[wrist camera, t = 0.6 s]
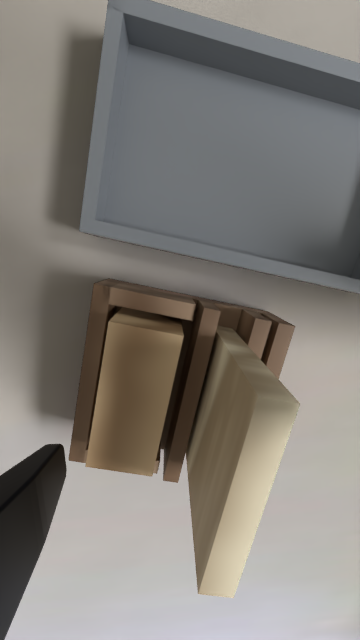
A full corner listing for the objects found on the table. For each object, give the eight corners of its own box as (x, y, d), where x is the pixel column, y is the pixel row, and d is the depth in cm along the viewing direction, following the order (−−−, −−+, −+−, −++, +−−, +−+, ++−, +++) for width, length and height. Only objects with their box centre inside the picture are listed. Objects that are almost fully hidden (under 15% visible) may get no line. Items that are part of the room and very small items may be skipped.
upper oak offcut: (181, 325, 16) (183, 336, 14) (154, 450, 18) (152, 476, 16) (116, 312, 16) (108, 321, 14) (95, 441, 18) (85, 466, 16)
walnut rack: (267, 311, 20) (295, 326, 16) (228, 446, 23) (242, 492, 18) (109, 278, 19) (91, 284, 15) (86, 424, 22) (65, 466, 17)
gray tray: (407, 119, 18) (454, 92, 15) (347, 291, 20) (377, 297, 17) (120, 37, 16) (109, -12, 13) (93, 235, 18) (79, 230, 16)
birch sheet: (232, 328, 19) (300, 403, 9) (203, 438, 21) (233, 597, 11) (211, 324, 19) (258, 396, 9) (184, 435, 21) (198, 594, 11)
